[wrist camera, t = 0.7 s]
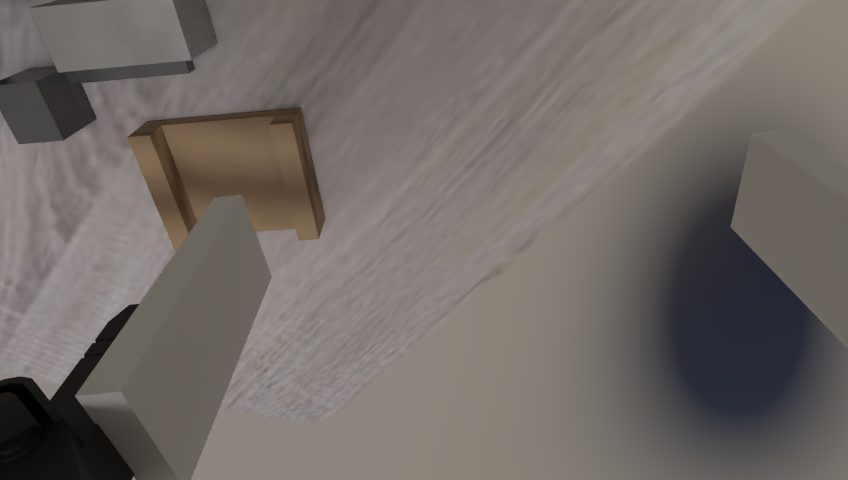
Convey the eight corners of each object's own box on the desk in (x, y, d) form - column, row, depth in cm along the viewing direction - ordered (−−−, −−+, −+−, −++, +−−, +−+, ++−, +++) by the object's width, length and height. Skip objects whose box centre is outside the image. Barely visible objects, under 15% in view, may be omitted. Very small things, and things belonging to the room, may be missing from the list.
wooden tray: (147, 121, 37) (127, 137, 34) (300, 107, 36) (291, 123, 34) (189, 229, 42) (174, 250, 39) (325, 218, 41) (318, 238, 39)
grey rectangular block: (74, -4, 32) (28, 8, 29) (199, -17, 32) (170, -6, 28) (98, 54, 34) (58, 72, 30) (217, 43, 34) (191, 60, 30)
